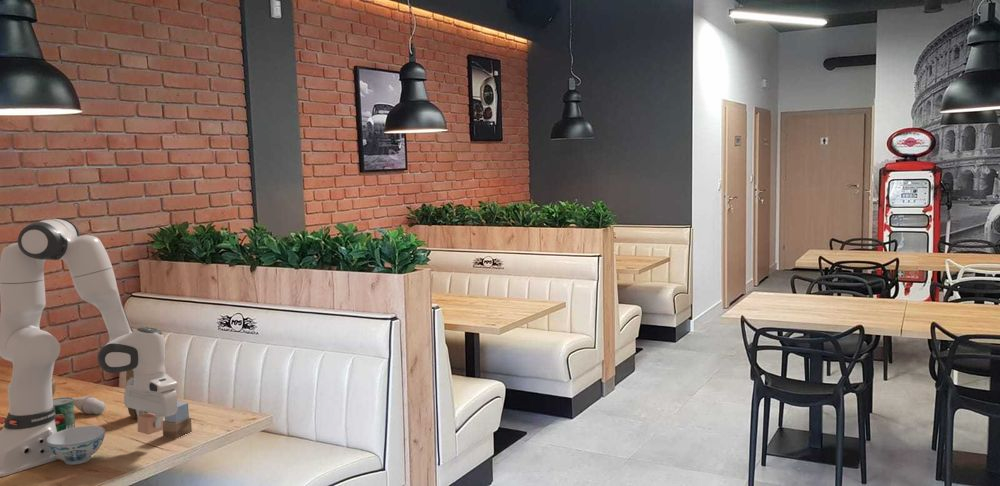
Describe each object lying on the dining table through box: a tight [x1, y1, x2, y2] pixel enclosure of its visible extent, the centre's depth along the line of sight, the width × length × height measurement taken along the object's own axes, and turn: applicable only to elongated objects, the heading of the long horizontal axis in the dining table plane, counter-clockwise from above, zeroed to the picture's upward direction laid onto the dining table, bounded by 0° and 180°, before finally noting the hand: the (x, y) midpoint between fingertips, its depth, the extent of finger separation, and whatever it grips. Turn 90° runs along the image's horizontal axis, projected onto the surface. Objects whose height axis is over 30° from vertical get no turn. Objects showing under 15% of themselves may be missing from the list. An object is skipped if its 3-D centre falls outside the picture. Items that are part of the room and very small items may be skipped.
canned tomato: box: [53, 396, 76, 432], centre depth 238 cm, size 8×8×11 cm
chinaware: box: [46, 425, 106, 466], centre depth 217 cm, size 15×15×8 cm
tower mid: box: [164, 400, 190, 423], centre depth 237 cm, size 5×5×5 cm
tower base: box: [162, 417, 193, 439], centre depth 237 cm, size 6×6×5 cm
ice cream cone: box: [73, 395, 106, 415], centre depth 259 cm, size 6×6×15 cm
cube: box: [136, 412, 164, 435], centre depth 226 cm, size 5×5×5 cm
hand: (150, 425), depth 226 cm, fingers closed on cube, 5 cm apart
